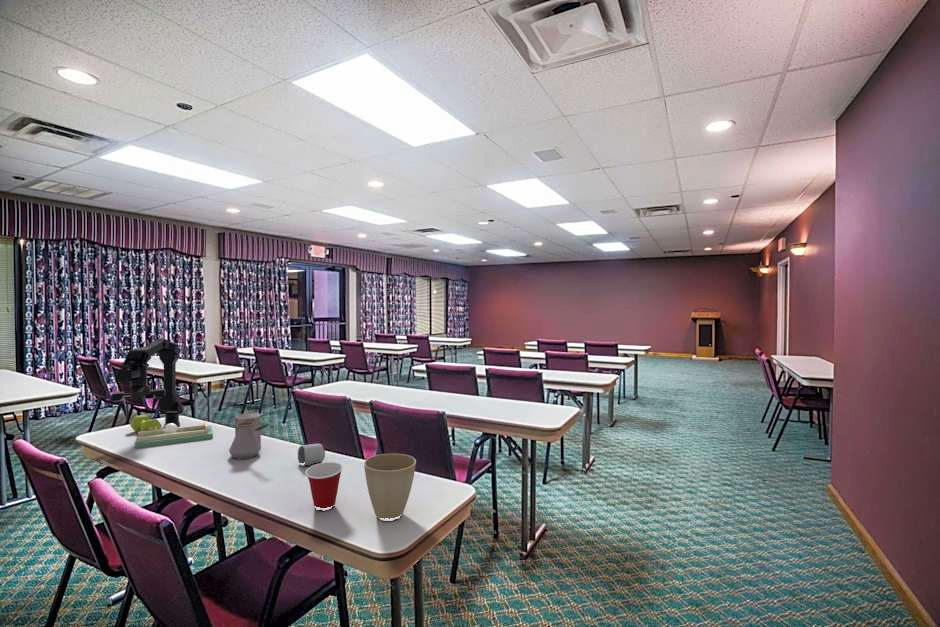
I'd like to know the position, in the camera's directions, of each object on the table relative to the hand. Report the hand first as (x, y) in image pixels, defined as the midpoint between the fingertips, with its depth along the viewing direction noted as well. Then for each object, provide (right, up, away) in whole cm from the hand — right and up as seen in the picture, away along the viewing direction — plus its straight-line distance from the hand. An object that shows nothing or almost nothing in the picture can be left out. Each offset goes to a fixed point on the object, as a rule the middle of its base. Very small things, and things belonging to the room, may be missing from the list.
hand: (139, 414), depth 195 cm
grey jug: (+49, -13, -4) cm, 51 cm away
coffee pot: (+57, -14, -17) cm, 61 cm away
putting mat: (+11, -12, +7) cm, 18 cm away
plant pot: (+120, -16, -64) cm, 136 cm away
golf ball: (+10, -8, +6) cm, 14 cm away
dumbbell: (-8, -12, +15) cm, 20 cm away
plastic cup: (+99, -15, -59) cm, 116 cm away
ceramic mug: (+81, -14, -21) cm, 85 cm away
